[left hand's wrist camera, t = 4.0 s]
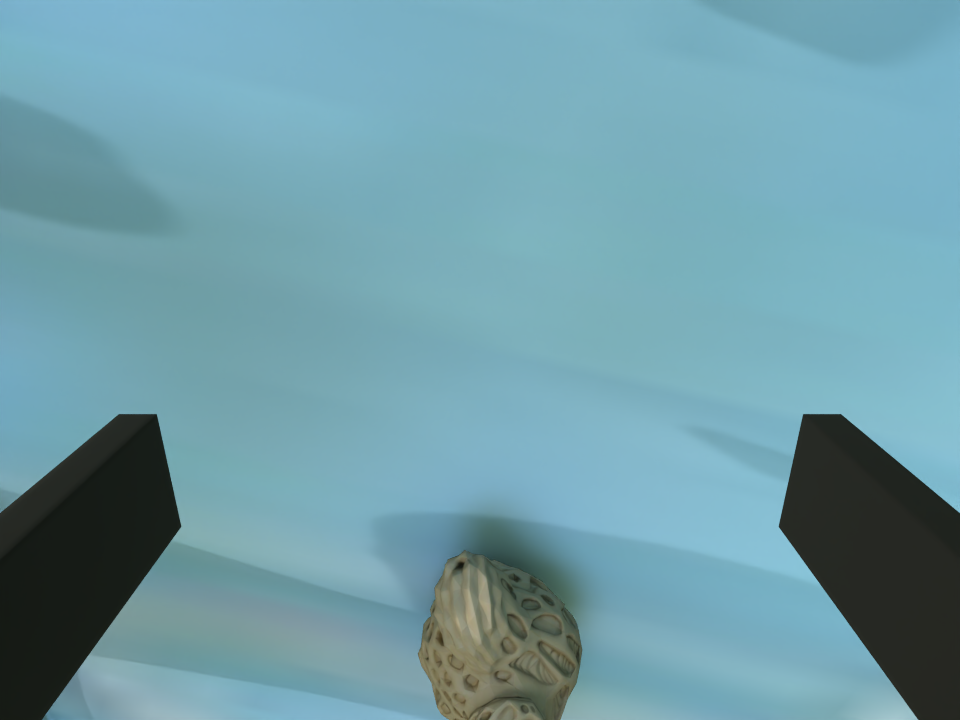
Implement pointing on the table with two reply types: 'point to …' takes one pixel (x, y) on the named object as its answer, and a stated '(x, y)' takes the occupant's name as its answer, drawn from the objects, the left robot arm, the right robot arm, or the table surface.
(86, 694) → the table surface
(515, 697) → the beige textured lump
